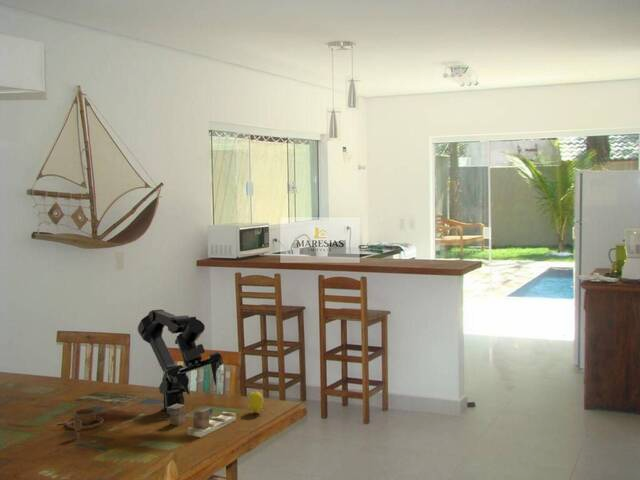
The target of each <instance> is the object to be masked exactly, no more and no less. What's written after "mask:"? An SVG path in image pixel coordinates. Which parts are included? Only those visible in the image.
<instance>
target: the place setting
mask: <svg viewBox="0 0 640 480" xmlns="http://www.w3.org/2000/svg"><path fill="white" fill-rule="evenodd" d="M96 413H97V412H96V410H95V409H92V408H82V409H77V410H75V411H74V412H73V417H71V418H69V419H67V420H65V421H60V422H58V423H57V424H58V425H59V426H60V425H65V426H66V427H67V428H68V429H71V430H74V431H75V432H76V434H75V436H76V437H75V439H76V440H79V439H80V431H81V430H82V431H83V430H91V429H96V428H98V427H100V426H102V425H103V423H104V418H103V417H102V416H97V414H96ZM94 421H97V422H98V423H94V424H92V423H93V422H94ZM72 424H73V425H72Z"/></svg>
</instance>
